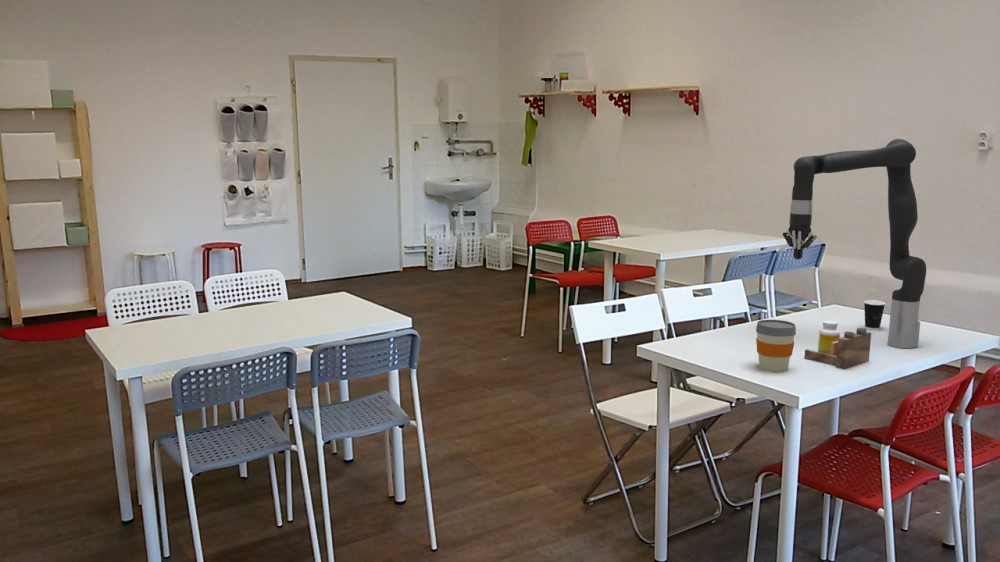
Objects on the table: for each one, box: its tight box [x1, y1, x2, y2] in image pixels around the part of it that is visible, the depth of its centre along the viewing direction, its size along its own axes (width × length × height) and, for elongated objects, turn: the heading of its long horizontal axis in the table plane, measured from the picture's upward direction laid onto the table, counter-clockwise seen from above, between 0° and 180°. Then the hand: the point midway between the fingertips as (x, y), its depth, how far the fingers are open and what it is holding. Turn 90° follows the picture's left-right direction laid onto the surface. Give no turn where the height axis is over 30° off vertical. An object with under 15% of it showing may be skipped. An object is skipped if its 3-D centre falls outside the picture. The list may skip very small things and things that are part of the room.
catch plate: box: [830, 341, 838, 356], centre depth 277 cm, size 1×9×6 cm, turn 129°
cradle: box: [804, 327, 872, 370], centre depth 277 cm, size 16×16×12 cm
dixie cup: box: [863, 299, 886, 332], centre depth 321 cm, size 8×8×11 cm
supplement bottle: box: [817, 320, 841, 354], centre depth 280 cm, size 7×7×13 cm
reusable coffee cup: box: [755, 319, 797, 372], centre depth 268 cm, size 13×12×15 cm
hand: (797, 259), depth 299 cm, fingers closed
